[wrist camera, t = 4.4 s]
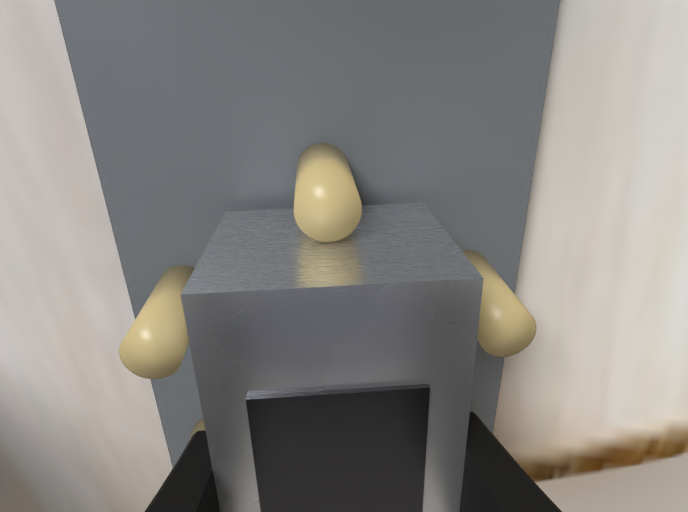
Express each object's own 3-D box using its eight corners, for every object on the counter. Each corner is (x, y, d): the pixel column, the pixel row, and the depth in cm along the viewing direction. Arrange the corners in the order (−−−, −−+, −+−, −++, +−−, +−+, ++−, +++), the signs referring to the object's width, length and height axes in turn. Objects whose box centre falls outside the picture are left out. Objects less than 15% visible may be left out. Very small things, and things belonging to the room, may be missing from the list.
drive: (411, 462, 14) (450, 612, 10) (259, 473, 14) (240, 632, 10) (423, 202, 11) (485, 280, 7) (225, 211, 10) (179, 297, 7)
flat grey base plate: (475, 475, 17) (515, 581, 13) (191, 497, 16) (162, 613, 13) (602, -421, 8) (820, -760, 4) (-34, -444, 7) (-322, -848, 4)
